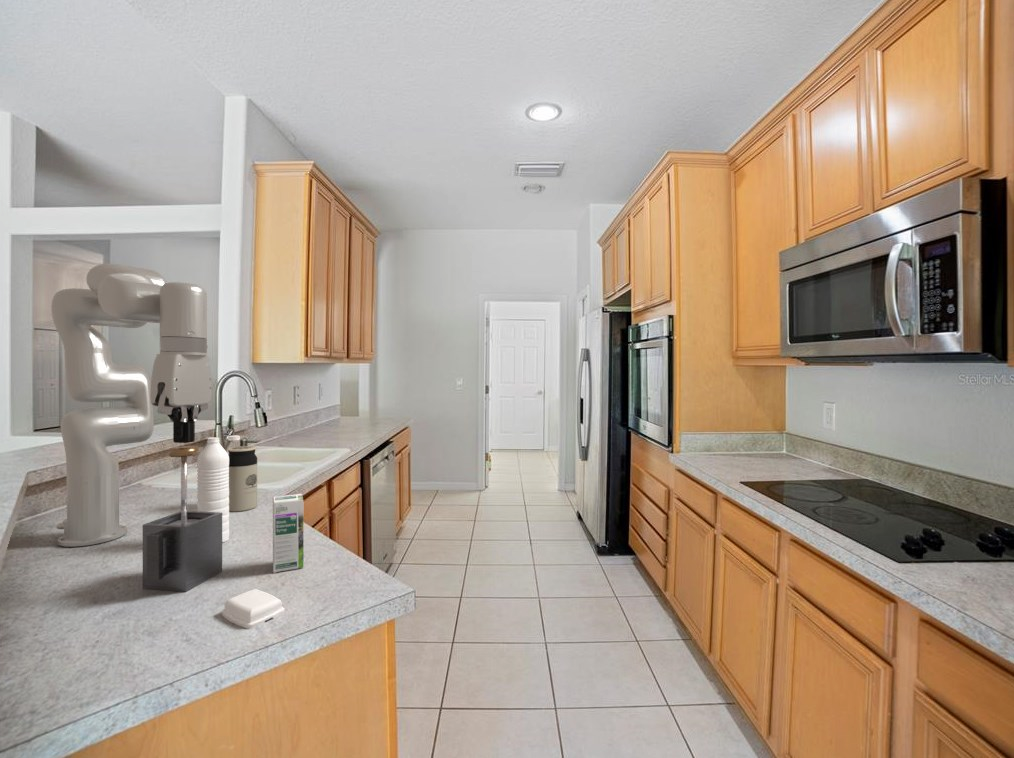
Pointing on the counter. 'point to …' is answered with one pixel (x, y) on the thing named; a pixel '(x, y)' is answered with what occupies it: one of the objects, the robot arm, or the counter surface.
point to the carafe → (182, 551)
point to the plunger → (183, 479)
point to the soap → (252, 608)
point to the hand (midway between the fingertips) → (184, 442)
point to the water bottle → (214, 481)
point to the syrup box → (288, 533)
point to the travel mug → (242, 478)
